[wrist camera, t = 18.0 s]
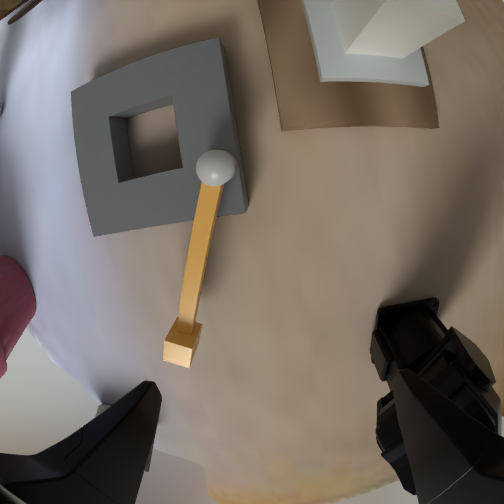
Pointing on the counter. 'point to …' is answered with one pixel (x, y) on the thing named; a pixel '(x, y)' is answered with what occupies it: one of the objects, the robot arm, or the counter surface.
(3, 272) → the plant pot
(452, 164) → the counter surface
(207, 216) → the ball-topped lever
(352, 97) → the walnut board
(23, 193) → the counter surface
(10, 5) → the brown shallow curved piece
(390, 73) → the plug
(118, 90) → the socket block
